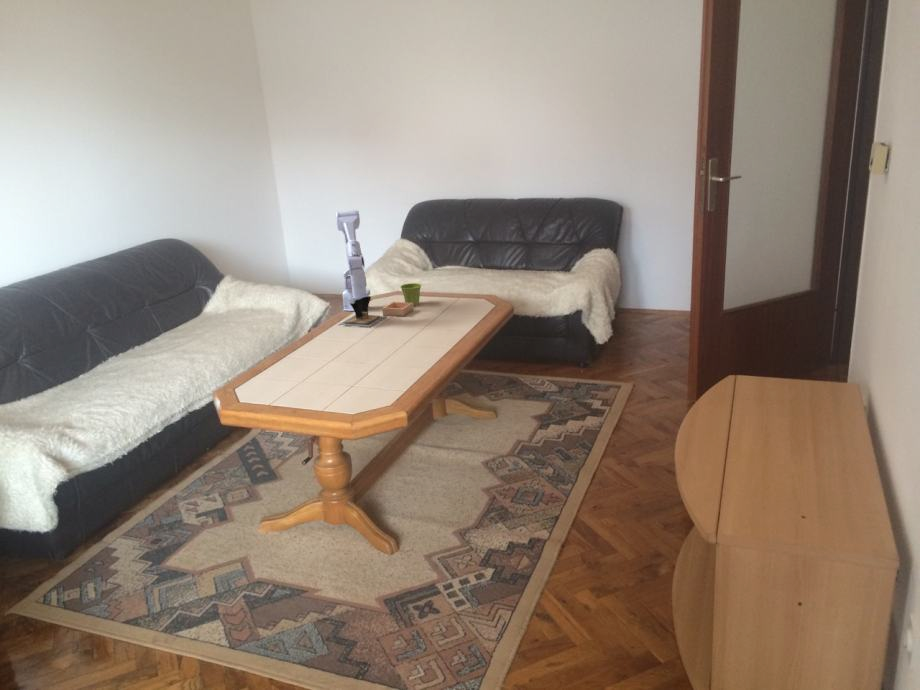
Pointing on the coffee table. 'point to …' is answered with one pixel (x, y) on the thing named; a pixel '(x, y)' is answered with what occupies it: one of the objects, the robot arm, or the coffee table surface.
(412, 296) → the plant pot
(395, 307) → the dish
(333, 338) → the coffee table surface
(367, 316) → the lid
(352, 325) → the mat
